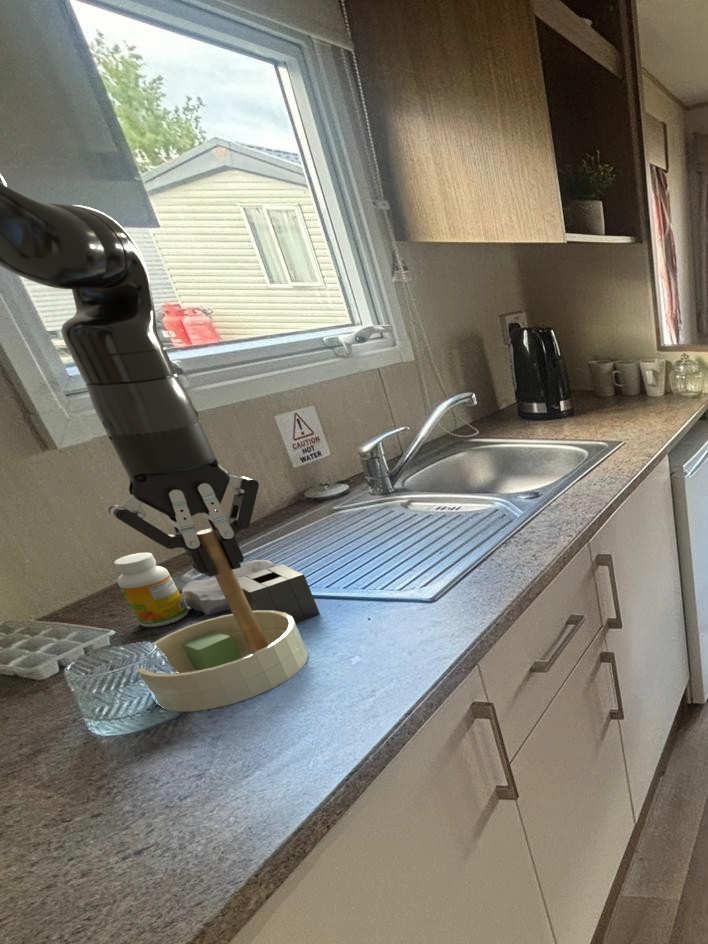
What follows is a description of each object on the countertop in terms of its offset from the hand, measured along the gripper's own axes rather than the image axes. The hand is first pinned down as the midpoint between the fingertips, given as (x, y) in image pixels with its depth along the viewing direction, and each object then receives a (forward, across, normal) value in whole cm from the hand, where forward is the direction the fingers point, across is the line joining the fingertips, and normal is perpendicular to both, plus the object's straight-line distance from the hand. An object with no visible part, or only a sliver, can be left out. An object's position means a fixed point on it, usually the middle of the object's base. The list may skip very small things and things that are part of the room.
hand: (222, 570), depth 77 cm
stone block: (+14, -7, -25) cm, 29 cm away
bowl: (+14, +3, -1) cm, 14 cm away
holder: (+14, -7, -12) cm, 19 cm away
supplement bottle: (+14, +2, -28) cm, 31 cm away
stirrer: (+11, 0, 0) cm, 11 cm away
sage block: (+13, +3, -5) cm, 14 cm away
